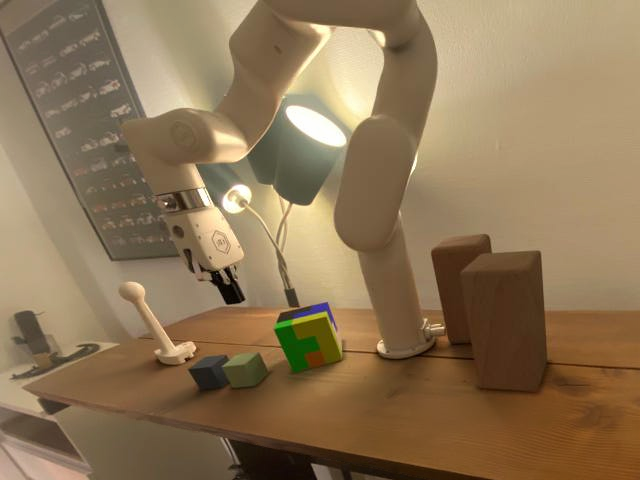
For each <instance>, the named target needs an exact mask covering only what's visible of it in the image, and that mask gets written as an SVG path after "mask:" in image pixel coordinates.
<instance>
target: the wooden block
mask: <svg viewBox="0 0 640 480" xmlns="http://www.w3.org/2000/svg"><path fill="white" fill-rule="evenodd" d="M543 277H544V276H543V261H542V252H541V251H540V250H538V249H537V250H535V249H534V250H522V251H521V250H519V251H504V252H492V253H485V254H481V255H480V256H478V257H477V258H476V259H475V260H474V261H473V262H472V263H470V264H469V265H468V266H467V267H466V268H465V269H464V270H462V271H461V272H460V279H461V284H462V290H463V296H464V302H465V308H466V314H467V320H468V325H469V331H470V337H471V343H470V344H471V348H472V355H473V361H474V367H475V372H476V378H477V383H478V387H479V388H480V389H487V390H488V389H489V390H502V391H517V392H530V393H535V392H538V391H539V387H540V384H541V381H542V378H543V376H544V372H545V369H546V367H547V363H548V360H549V359H548V346H547V344H548V343H547V329H546V328H547V326H546V312H545V311H546V310H545V309H546V308H545V296H544V294H545V293H544V279H543Z"/></svg>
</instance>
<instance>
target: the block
mask: <svg viewBox="0 0 640 480" xmlns="http://www.w3.org/2000/svg"><path fill="white" fill-rule="evenodd" d="M485 253H493V249H492V241H491V237H490V235H489V234H487V233H479V234H469V235H461V236H451V237H446V238H443V239H442V240H441V241H440V242H438V244H436V245H435V246H434V247H433V248H432V249H431V250H430V258H431V262H432V266H433V272H434V275H435V276H434V277H435V280H436V281H435V283H436V286H437V292H438V295H439V300H440V301H439V302H440V306H441V311H442V316H443V320H444V325H445V326H444V327H445V328H446V336H447V340H448V342H449V343H450V344H451V345H455V344H472V343H471V337H470V331H469V325H468V320H467V314H466V308H465V302H464V296H463V290H462V284H461V279H460V272H461V271H462V270H464V269H465V268H466V267H467V266H468V265H469V264H470V263H472V262H473V261H474V260H475V259H476V258H477V257H478V256H480V255H481V254H485Z"/></svg>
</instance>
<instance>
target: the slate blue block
mask: <svg viewBox="0 0 640 480" xmlns="http://www.w3.org/2000/svg"><path fill="white" fill-rule="evenodd" d="M229 360H230V359H229V357H228V355H227V354H221V355H210V356H205V357H202V359H200V360H198V361H197V362H196V363H194V364H193V365H191V366H190V367H188V368H187V371H188V372H189V374H190V375H191V377H192V379H193V380H194V382H195V384H196V385H197V387H198V389H199V390H201V391H202V390H203V391H204V390H212V389H213V390H214V389H223V388H224V387H225V386H226V385H227V384H229V383H230V381H229V380H228V378H227V376H226V374H225V373H224V371H223V369H222V366H223V365H224V364H226V363H227V362H228V361H229Z"/></svg>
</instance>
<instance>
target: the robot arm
mask: <svg viewBox="0 0 640 480" xmlns="http://www.w3.org/2000/svg"><path fill="white" fill-rule="evenodd" d="M337 28H344V29H358V30H359V29H360V30H366V31H367V33H368V35H369V36H370V37H371V38H372V39H373V41H375V43H376V44H377V45H378V46H379V47H380V50H381V51H382V56H383V66H382V71H381V74H380V77H379V79H378V84H377V88H376V92H375V93H376V94H375V98H374V102H373V106H372V110H371V113H370V116H369V117H366V118H364V119H363V120H361V122H359V124H357V126H356V127H355V129H354V130H353V132H352V134H351V136H350V139H349V141H348V146H347V149H346V153H345V156H344V157H345V158H344V162H343V166H342V171H341V175H340V179H339V183H338V189H337V192H336V196H335V197H336V198H335V202H334V207H333V213H332V219H333V226H334V229H335V233H336V234H337V236H338V238H339V239H340V241H341V242H342V243H343V244H344V245H345V246H346V247H347V248H348V249H350V250H352V251H354V252H356V253H357V259H358V262H359V266H360V270H361V273H362V277H363V280H364V284H365V287H366V291H367V294H368V297H369V300H370V301H369V302H370V304H371V308H372V311H373V314H374V317H375V321H376V324H377V328H378V330H379V334H380V337H381V340H379V342H378V343H377V345H376V349H377V352H378V355H380V356H381V357H383V358H385V359H391V360H397V359H398V360H399V359H406V358H410V357H413V356H417V355H419V354H422V353H424V352H425V351H427V350H429V349H430V348H431V347H432V346H433V345H434V344H435V342H436V337H439V338H440V337H446V336H447V331H446V326H443V324H442V323H435V324H431V323H429V319H428V318H424V314H423V311H422V306H421V302H420V297H419V293H418V289H417V285H416V281H415V277H414V272H413V267H412V262H411V258H410V254H409V249H408V243H407V238H406V233H405V227H404V220H403V217H402V212H401V208H402V204H403V201H404V198H405V195H406V191H407V188H408V185H409V181H410V179H411V175H412V173H413V171H414V170H415V168H416V165H417V160H418V153H419V150H420V145H421V141H422V138H423V134H424V131H425V127H426V124H427V120H428V117H429V112H430V109H431V105H432V102H433V98H434V94H435V89H436V86H437V80H438V73H439V71H438V69H439V68H438V67H439V66H438V65H439V62H438V53H437V47H436V46H437V45H436V42H435V39H434V35H433V33H432V30H431V28H430V26H429V24H428V22H427V20H426V17H425V16H424V15H423V12H422V11H421V9H420V6H419V5H418V2H417V0H257V1H256V2H255V4H254V5H253V6H252V8H250V11H249V12H248V13H247V15H246V16H245V17H244V18H243V20H242V21H241V22H240V24H239V25H238V26H237V27H236V29H235V31H233V33H232V34H231V35H230V38H229V40H228V48H229V54H230V56H231V57H230V58H231V60H232V65H233V79H232V82H231V85H230V86H229V89H228V91H227V92H226V94H225V96H224V97H223V99H222V100H220V103H218V105H217V106H216V107H215V108H214V110H212V111H210V110H203V109H197V108H191V107H179V108H175V109H170V110H169V111H166V112H164V113H162V114H160V115H159V114H158V115H155V116H153V117H140V118H132V119H129V120H126V121H124V122H122V123H121V125H120V134H121V136H122V138H123V140H124V142H125V144H126V145H127V148H128V149H129V151H130V153H131V155H132V156H133V159H134V160H135V162H136V164H137V166H138V168H139V170H140V172H141V173H142V176H143V177H144V180H145V181H146V182H147V185H148V187H149V189H150V190H151V192H152V194H153V196H154V198H155V200H156V203H157V206H158V207H159V209H161V212H162V213H163V215H164V220H165V224H166V226H167V229H168V233H169V234H170V238H171V240H172V241H173V245H174V246H175V248H176V251H177V253H178V255H179V256H180V258H181V260H182V262H183V264H184V265H185V267H186V268H187V270H188V271H189V272H190V273H191V274H193V275H194V274H195V277H196V281H198V282H209V283H211V284H212V285H213V286H214V287H216V288H217V289H218V291H219V293H220V295H221V297H222V299H223V301H224V304H225V305H227V306H232V305H239V304H241V303H243V302H245V301H247V299H246V296H245V294H244V292H243V290H242V288H241V286H240V284H239V282H238V279H239V277H238V274H237V269H238V268H239V267H240V266H241V264H242V263H241V261H242V260H244V258H245V254H244V251H243V249H242V246H241V245H240V243H239V241H238V239H237V236H236V235H235V233H234V231H233V229H232V228H231V225H230V224H229V223H228V221H227V219H226V218H225V216H224V214H223V213H222V212H221V211H220V209H219V208H218V207H217V206H215V204H214V201H213V200H212V198H211V196H210V194H209V191H208V189H207V188H206V185H205V183H204V180H203V179H202V177H201V174H200V172H199V170H198V168H197V166H196V165H211V164H212V165H213V164H228V163H229V164H230V163H231V164H232V163H237V162H239V161H240V160H242V159H244V158H245V157H246V156H248V154H250V152H251V151H252V150H253V149H254V148H255V146H256V145H257V144H258V143H259V141H261V139H262V138H263V137H264V135H265V134H266V133H267V131H268V130H269V128H270V127H271V126H272V124H273V122H274V119H275V117H276V115H277V113H278V111H279V109H280V106H281V104H282V101H283V98H284V96H285V94H286V92H288V90H289V89H290V87H291V86H292V85H293V84H294V82H295V81H296V80H297V79H298V77H299V76H300V75H301V74H302V73H303V71H304V70H305V69H306V68H307V67H308V65H309V64H310V63H311V62H312V60H313V59H314V58H315V57H316V55H318V54H319V52H321V51H320V50H321V49H322V48H323V47H324V46H325V44H326V43H327V42H328V41H329V40H330V39H331V37H332V36H333V34H334V33H335V31H336V29H337Z"/></svg>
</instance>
